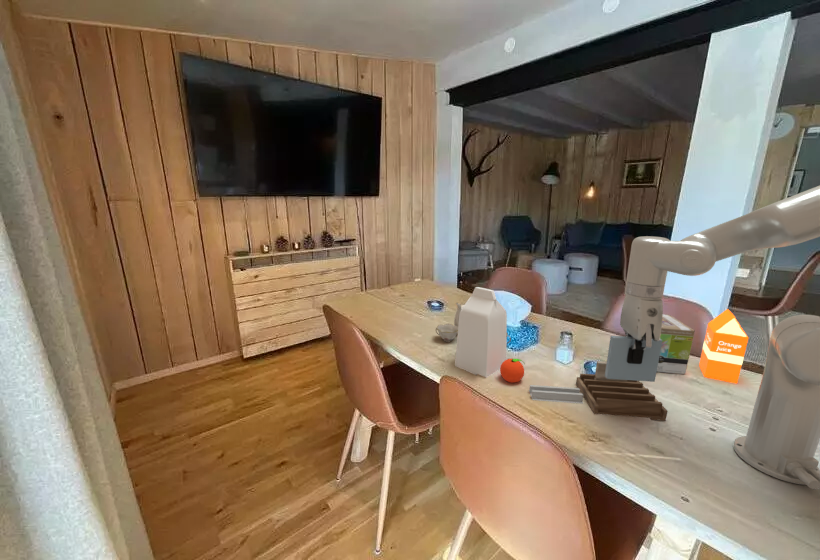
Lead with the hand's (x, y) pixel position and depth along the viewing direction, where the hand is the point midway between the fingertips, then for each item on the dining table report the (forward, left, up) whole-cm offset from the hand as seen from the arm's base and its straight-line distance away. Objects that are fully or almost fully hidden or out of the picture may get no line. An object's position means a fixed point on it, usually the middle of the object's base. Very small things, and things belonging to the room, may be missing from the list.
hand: (632, 361), depth 86 cm
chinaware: (+41, +37, -15) cm, 57 cm away
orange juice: (+24, -37, -14) cm, 46 cm away
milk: (+20, +35, -14) cm, 43 cm away
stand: (+4, +16, -14) cm, 22 cm away
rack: (+4, 0, -14) cm, 15 cm away
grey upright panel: (0, 0, -5) cm, 5 cm away
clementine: (+12, +26, -14) cm, 32 cm away
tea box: (+30, -23, -14) cm, 40 cm away
